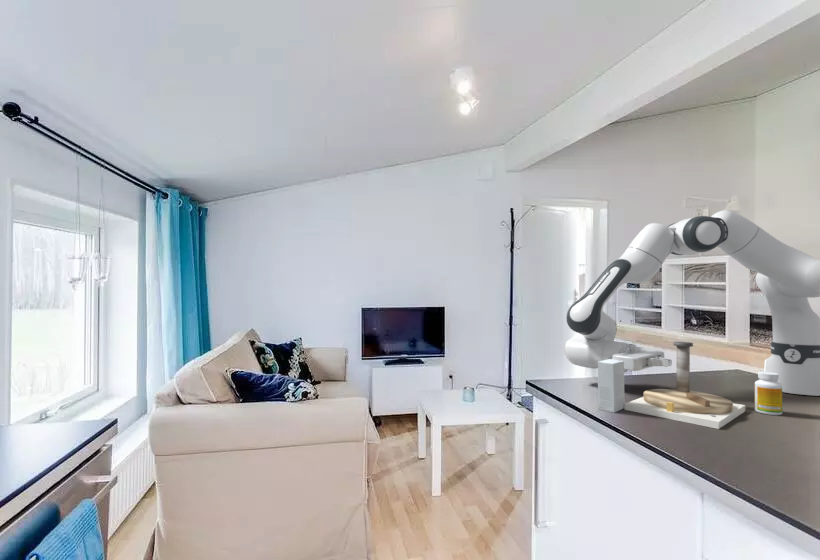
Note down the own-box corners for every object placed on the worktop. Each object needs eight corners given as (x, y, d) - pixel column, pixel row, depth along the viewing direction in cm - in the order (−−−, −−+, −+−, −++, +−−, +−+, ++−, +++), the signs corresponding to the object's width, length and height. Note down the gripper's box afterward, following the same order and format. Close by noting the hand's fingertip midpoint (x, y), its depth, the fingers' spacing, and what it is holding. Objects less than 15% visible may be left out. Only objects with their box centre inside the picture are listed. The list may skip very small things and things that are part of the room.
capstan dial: (660, 391, 128) (660, 339, 128) (742, 404, 113) (742, 346, 114) (630, 402, 115) (631, 345, 115) (719, 418, 101) (719, 353, 101)
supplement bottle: (787, 416, 109) (787, 375, 109) (762, 414, 110) (761, 374, 110) (774, 410, 115) (774, 371, 115) (750, 409, 116) (750, 370, 116)
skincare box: (607, 405, 118) (608, 358, 118) (624, 408, 115) (625, 360, 115) (597, 409, 114) (597, 361, 114) (614, 413, 110) (614, 363, 111)
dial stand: (658, 396, 128) (658, 383, 128) (745, 411, 113) (745, 397, 113) (624, 409, 114) (624, 395, 114) (718, 428, 99) (718, 412, 99)
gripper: (602, 349, 128) (655, 355, 117) (633, 343, 141) (682, 348, 131) (602, 371, 128) (655, 379, 117) (633, 364, 141) (682, 370, 131)
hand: (670, 363), depth 124 cm, fingers closed
